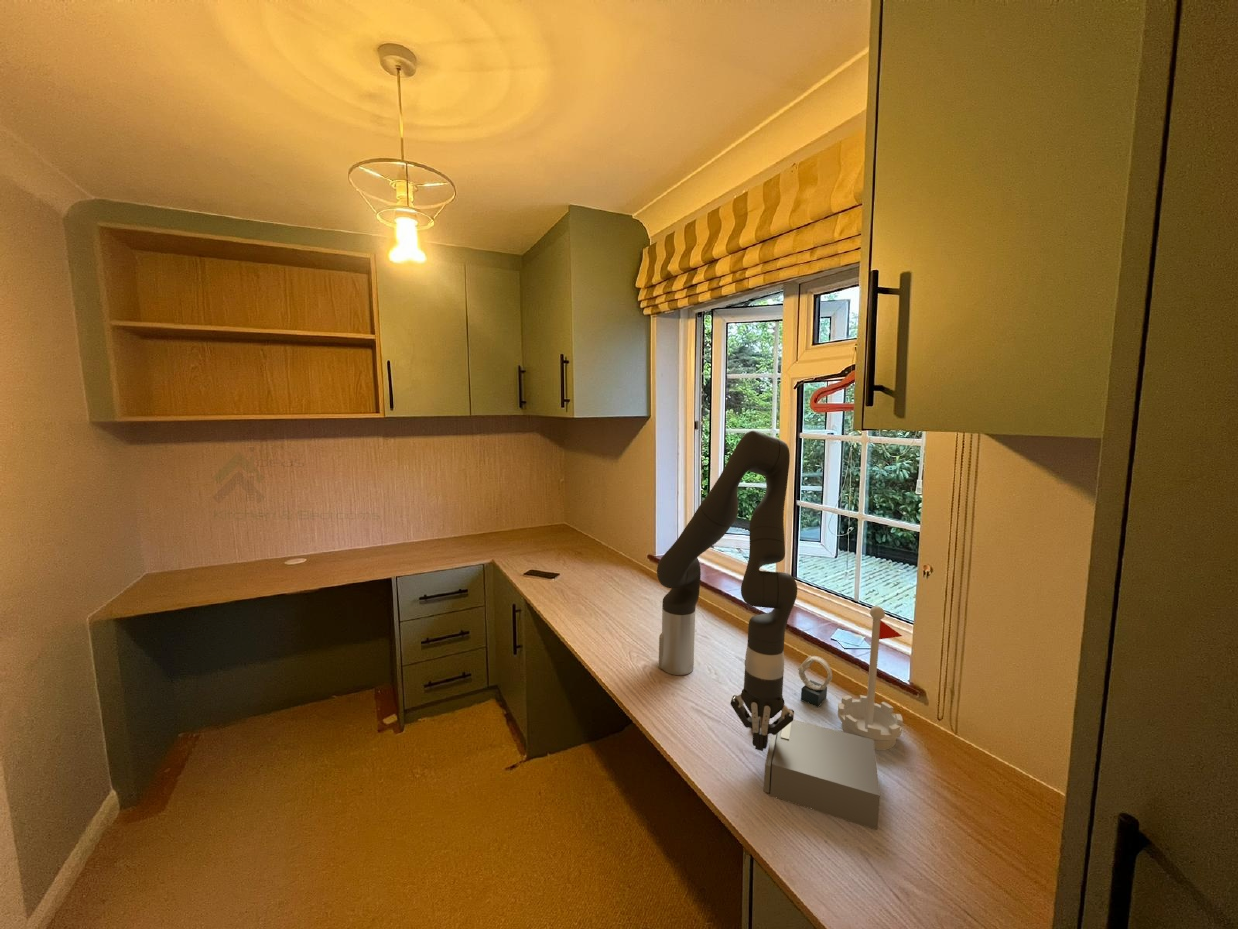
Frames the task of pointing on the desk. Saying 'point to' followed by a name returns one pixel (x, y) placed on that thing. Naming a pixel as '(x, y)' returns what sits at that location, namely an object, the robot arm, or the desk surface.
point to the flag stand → (872, 698)
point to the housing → (827, 772)
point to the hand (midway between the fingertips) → (759, 747)
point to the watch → (814, 690)
